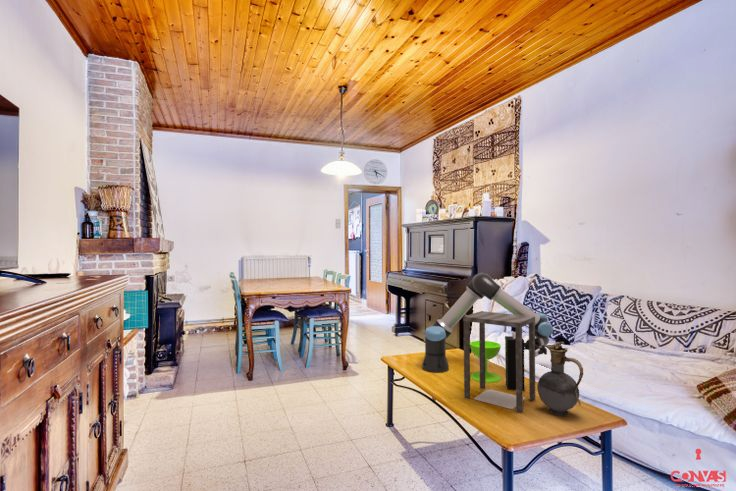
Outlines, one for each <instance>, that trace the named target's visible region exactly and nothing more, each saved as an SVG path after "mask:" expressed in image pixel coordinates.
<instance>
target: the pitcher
mask: <svg viewBox="0 0 736 491" xmlns="http://www.w3.org/2000/svg"><path fill="white" fill-rule="evenodd" d="M564 344H565V342H564V341H559V342H554V344H547V345H546V346H544V347H545V348H546V349H548V350H549V352H550V363H551V364H550V366H551V367H550V368H551V370H550V371H547V372H545V373H543V374H542V375H541V376H540V378H539V379H538V381H537V385H536V386H537V394H538V396H539V399H540V401H541V402H542V403H543V404H544V405H545V406H547V411H548V412H549V413H551V414H552V415H555V416H559V417H565V416H568V415H569V410H572V409H573V408H574V407H575V406H576V405H577V404H579V406H581V404H582V403H581V402H580V401H581V399H580V390H579V385H580V383H581V382H582V378H583V376H584V367H583V365H582V363H581V362H580V361H579V360H578V359H576V358H574V357H567V356H566V353H567V352H568V351H569V349H568V348H567V347H563V346H562V345H564ZM567 362H571V363H574V364H575V365H577V367H578V369H579V375H578V379H577V382H576V379H574V378H573V377H572V376H571V375H569V374H567V373H566V372H565V364H566V363H567Z"/></svg>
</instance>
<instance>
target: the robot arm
mask: <svg viewBox="0 0 736 491" xmlns="http://www.w3.org/2000/svg"><path fill="white" fill-rule="evenodd" d="M484 297H485V298H487V299H488V300H490V301H494V302H496V304H499V305H500V306H501V307H503V308H504V309H506V310H507V311H508V312H510V314H514V315H523V316H533V317H535V358H537V357H538V356H540V355H543V354H544V355H548V350H547V349H548V348H547V347H544V346H546V345H549V343H550V336H551V335H552V334H553V333H554V327H553V325H552V323H550V322H549V321H548V317H547V316H548V315H547V314H546V313H541V312H535V311H533V310H532V309H530V308H528V306H526V305H524V304H523V303H522V302H520V301H519V300H517V299H515V298H514V297H513V296H512V295H510V294H509V293H508V292H506V291H505V290H503V289H502V285H499V284H498V283H497V282H496V281H495V280H494V279H493V277H491V276H490V274H488V273H485V272H479V273H476V274H474V276H472V279H471V280H470V281H469V283H468V284H467V285H466V290H465V291H464V293H462V295H461V296H460V297H459V298H458V299H457V300H456V301H455V303H453V305H452V306H451V307H450V309H448V311H447V312H446V313H445V314H444V315H443V316H442V317H441V318H440V319H436V321H435V322H434V323H433V324H432V325H430V326H429V327H426V329H425V330H424V342H425V343H424V345H425V346H424V347H425V348H424V349H425V350H424V352H425V354H424V357H423V360H422V361H423V362H422V365H421V366H422V369H423V370H424V369H425V370H424V371H426V370H427V372H429V371H431V372H430V373H445V372H447V370H448V371H449V369H450V364H449V361H448V359H447V356H446V351H447V350H446V341H447V339H448V338H449V337H450V336H451V335H452V333H453V328H454V327H455V326H456V325H457V324H458V322H459V321H460V320H461V319H463V316H466V314H467V312H468V311H469V310H470V309H471V308H472V307H473V306H474V304H475V303H476V302H477V301H478V300H482V299H483V298H484ZM527 326H529V324H527ZM526 350H528V351H529V338H528V339H527V340H526V341H525V342H524V351H526ZM444 371H445V372H444Z"/></svg>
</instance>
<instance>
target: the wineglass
mask: <svg viewBox="0 0 736 491" xmlns="http://www.w3.org/2000/svg"><path fill="white" fill-rule="evenodd" d="M501 346H502V345H501V344H500V343H499V342H496V341H495V342H494V341H489V340H485V384H486V383H488V384H492V383H498V382H500V381H501V380H502V378H501V376H500V375H499V374H497V373H494V372H491V371H488V360H492V359H494V358H495V357H497V355H499V352H500V350H501ZM470 350H471V352H472V353H473V355H474V356H476V357H477V358H478V359H480V341H479V340H474V341H470ZM470 377H471V378H472V379H471V378H470V379H471V380H473V381H475V382H479V383H480V371H474V372H472V373H470Z"/></svg>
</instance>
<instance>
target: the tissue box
mask: <svg viewBox="0 0 736 491" xmlns="http://www.w3.org/2000/svg"><path fill="white" fill-rule="evenodd" d="M504 340H505V344H504V345H505V346H504V349H505V350H504V352H505V354H504V355H505V357H504V358H505V363H504V364H505V386H506V388H507V390H510V391H516V331H513V330H512V331H511V336H510V335H505V336H504ZM524 343H525V339H524V338H523V337H522V386H523V391H524V392H525V390H526V389H525V350H524V348H525V347H524Z"/></svg>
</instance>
